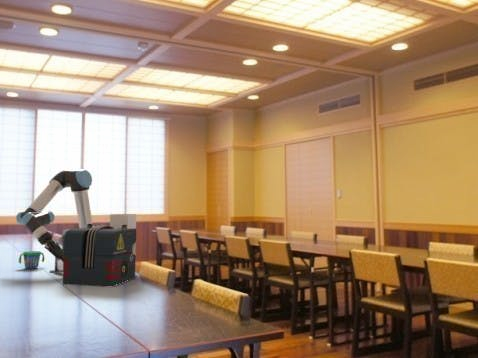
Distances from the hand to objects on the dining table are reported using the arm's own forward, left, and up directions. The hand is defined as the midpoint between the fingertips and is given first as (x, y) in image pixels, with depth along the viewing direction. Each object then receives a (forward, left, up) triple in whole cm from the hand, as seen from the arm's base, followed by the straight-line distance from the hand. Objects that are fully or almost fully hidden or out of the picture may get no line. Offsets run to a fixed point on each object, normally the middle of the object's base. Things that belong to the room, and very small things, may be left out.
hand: (69, 266), depth 271 cm
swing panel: (-3, -6, -3) cm, 8 cm away
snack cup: (-5, -45, -6) cm, 45 cm away
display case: (-25, +16, -6) cm, 30 cm away
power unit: (+1, +28, -6) cm, 29 cm away
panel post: (-5, -19, -5) cm, 20 cm away
